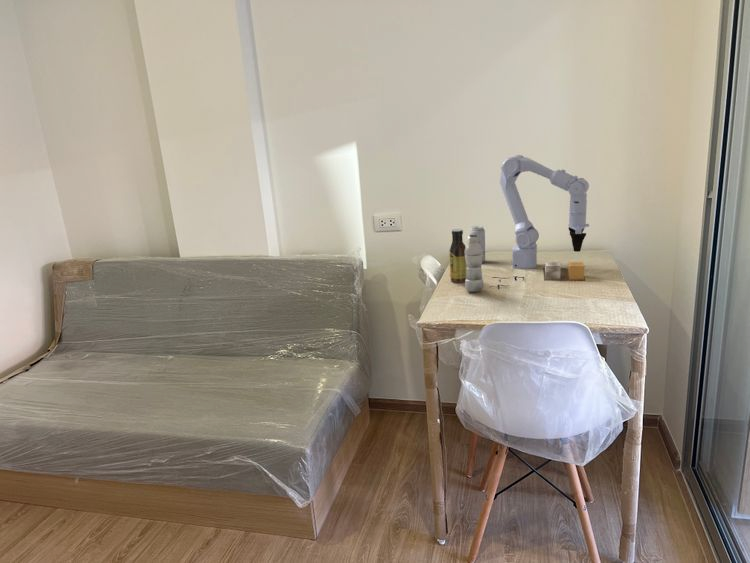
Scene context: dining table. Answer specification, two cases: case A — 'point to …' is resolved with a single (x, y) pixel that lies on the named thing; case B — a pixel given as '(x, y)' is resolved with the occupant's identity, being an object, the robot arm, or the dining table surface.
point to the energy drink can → (481, 234)
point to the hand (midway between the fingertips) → (576, 248)
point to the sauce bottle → (457, 257)
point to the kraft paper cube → (576, 270)
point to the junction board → (562, 275)
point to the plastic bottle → (473, 264)
